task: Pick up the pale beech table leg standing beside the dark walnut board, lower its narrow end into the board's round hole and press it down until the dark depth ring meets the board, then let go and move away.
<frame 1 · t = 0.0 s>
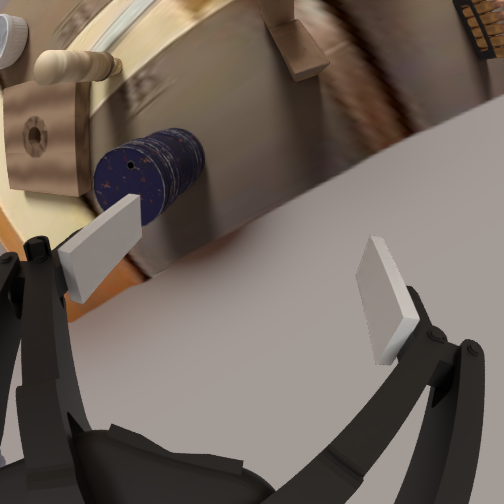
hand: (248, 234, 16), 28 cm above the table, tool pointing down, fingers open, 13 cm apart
beech leg: (114, 67, 36), on the table
ammunition clip: (469, 29, 24), on the table
ramekin: (15, 42, 32), on the table
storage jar: (175, 157, 43), on the table
walnut board: (48, 132, 42), on the table
wooden peg block: (291, 45, 32), on the table
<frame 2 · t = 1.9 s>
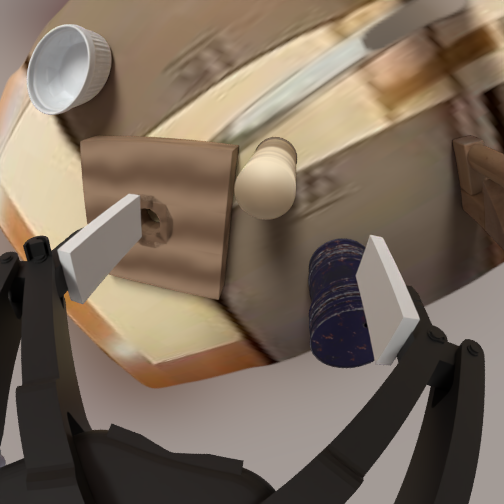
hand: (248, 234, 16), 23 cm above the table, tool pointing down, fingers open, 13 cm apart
beech leg: (277, 151, 35), on the table
ramekin: (85, 67, 32), on the table
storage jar: (340, 266, 43), on the table
walnut board: (158, 210, 42), on the table
wooden peg block: (466, 172, 32), on the table
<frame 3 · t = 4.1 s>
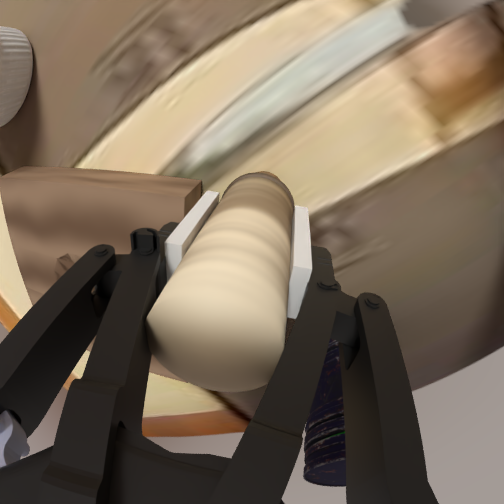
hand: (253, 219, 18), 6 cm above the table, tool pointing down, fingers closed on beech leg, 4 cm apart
beech leg: (263, 189, 23), on the table, touching gripper
ramekin: (8, 76, 19), on the table
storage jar: (351, 342, 30), on the table
walnut board: (103, 267, 29), on the table
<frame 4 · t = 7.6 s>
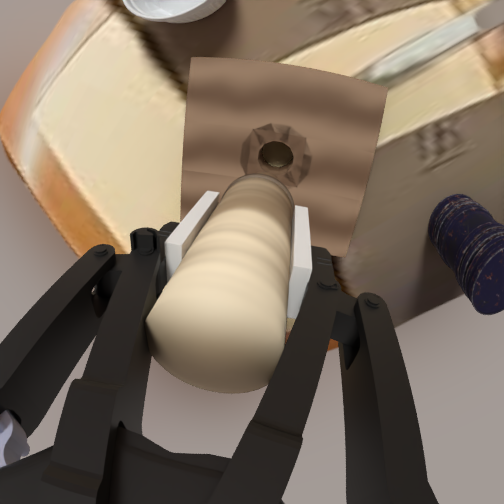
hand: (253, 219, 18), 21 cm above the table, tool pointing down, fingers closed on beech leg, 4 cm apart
beech leg: (263, 190, 23), point 15 cm above the table, touching gripper
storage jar: (454, 223, 36), on the table
walnut board: (277, 151, 35), on the table
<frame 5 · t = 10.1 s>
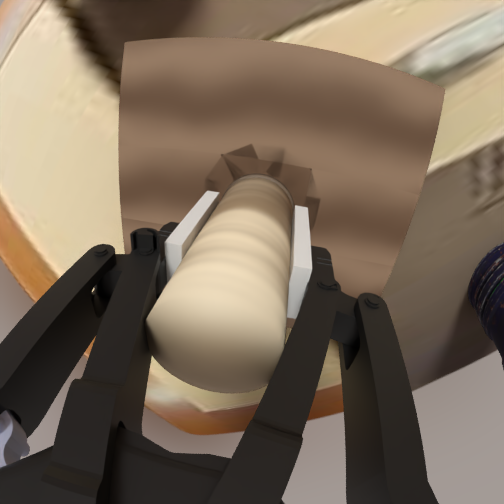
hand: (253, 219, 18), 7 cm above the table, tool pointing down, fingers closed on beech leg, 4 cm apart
beech leg: (263, 190, 23), point 1 cm above the table, touching gripper
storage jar: (499, 277, 24), on the table
walnut board: (265, 185, 24), on the table
when the fingers open (6 cm above the table, at t = 11.6 s): beech leg stays where it is, resting on walnut board.
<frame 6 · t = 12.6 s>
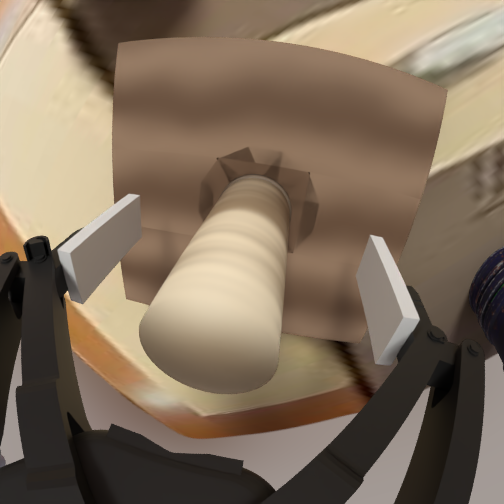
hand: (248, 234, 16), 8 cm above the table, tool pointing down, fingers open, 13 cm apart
beech leg: (261, 191, 23), resting on walnut board
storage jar: (500, 280, 24), on the table
walnut board: (263, 189, 23), on the table
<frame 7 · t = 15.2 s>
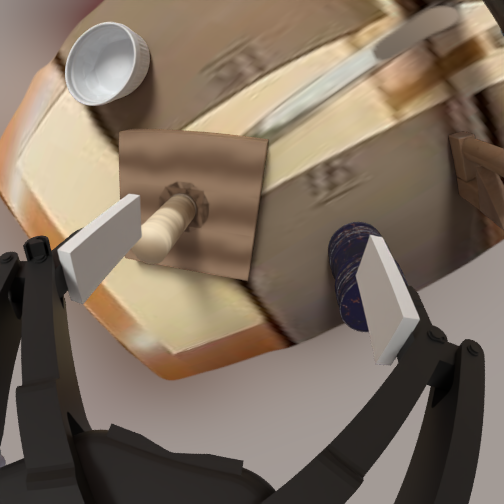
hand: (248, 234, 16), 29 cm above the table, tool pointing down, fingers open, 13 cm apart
beech leg: (189, 199, 46), resting on walnut board
ramekin: (121, 65, 36), on the table
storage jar: (355, 247, 47), on the table
walnut board: (191, 198, 46), on the table
wooden peg block: (461, 163, 37), on the table
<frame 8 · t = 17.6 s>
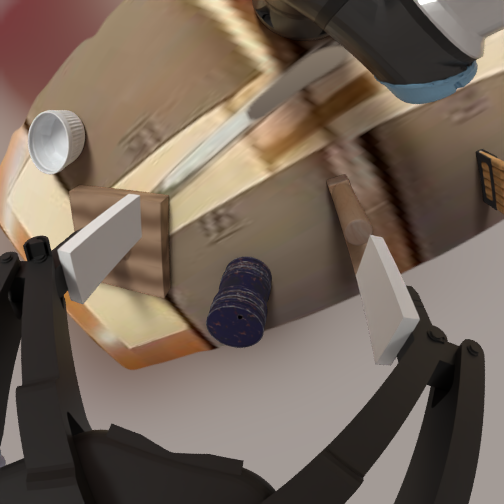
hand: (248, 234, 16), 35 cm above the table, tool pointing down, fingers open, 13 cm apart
ammunition clip: (483, 175, 42), on the table
ramekin: (68, 135, 49), on the table
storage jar: (248, 276, 60), on the table
walnut board: (123, 236, 60), on the table
wooden peg block: (344, 203, 50), on the table
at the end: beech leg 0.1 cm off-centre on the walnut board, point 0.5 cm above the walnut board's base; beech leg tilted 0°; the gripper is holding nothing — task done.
